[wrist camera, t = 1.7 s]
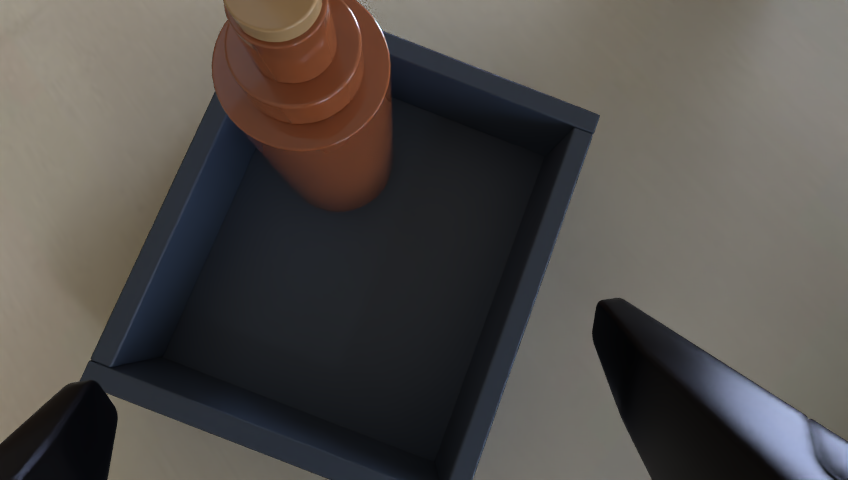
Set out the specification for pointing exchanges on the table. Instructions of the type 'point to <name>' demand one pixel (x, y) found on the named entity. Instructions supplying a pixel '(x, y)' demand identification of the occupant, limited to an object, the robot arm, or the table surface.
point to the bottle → (310, 94)
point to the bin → (353, 283)
